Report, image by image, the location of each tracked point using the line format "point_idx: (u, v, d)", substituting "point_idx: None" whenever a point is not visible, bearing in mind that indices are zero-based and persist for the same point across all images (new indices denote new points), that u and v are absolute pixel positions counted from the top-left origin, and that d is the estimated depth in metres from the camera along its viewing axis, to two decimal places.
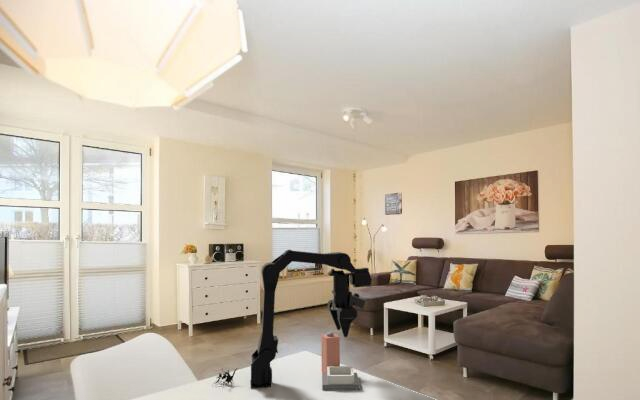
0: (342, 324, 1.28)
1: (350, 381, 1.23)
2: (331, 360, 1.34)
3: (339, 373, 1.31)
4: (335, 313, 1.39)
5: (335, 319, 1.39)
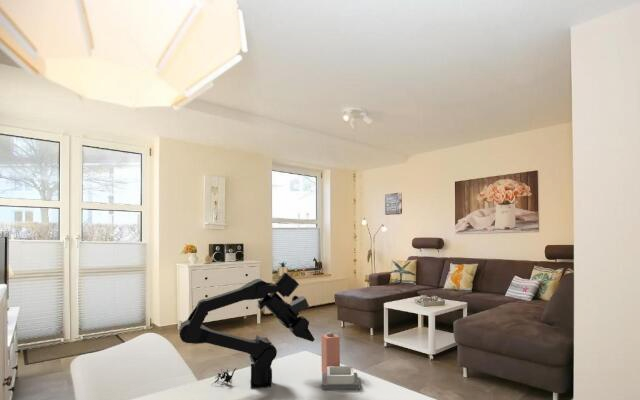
0: (303, 336, 1.27)
1: (350, 381, 1.23)
2: (331, 360, 1.34)
3: (339, 373, 1.31)
4: (291, 325, 1.38)
5: None
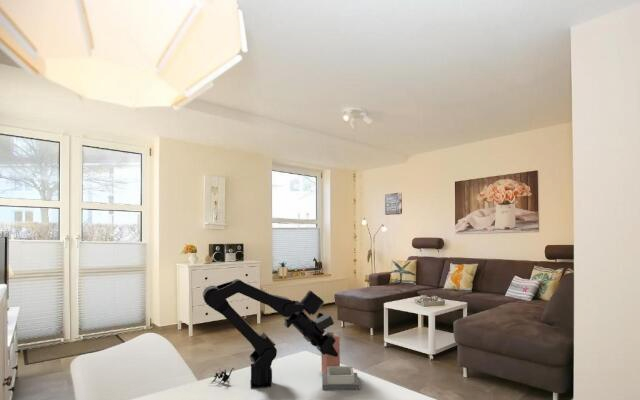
0: (327, 352, 1.32)
1: (350, 381, 1.23)
2: (331, 360, 1.34)
3: (339, 373, 1.31)
4: None
5: None
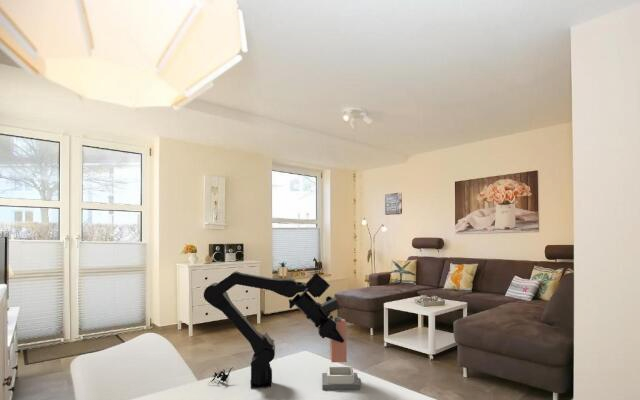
0: (331, 336, 1.26)
1: (350, 381, 1.23)
2: (337, 346, 1.28)
3: (339, 373, 1.31)
4: None
5: None
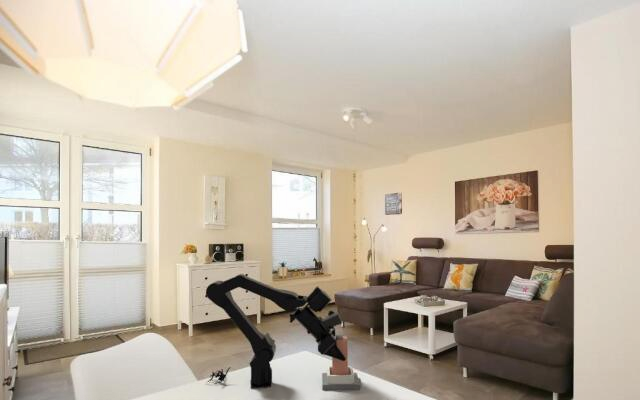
0: (331, 354, 1.22)
1: (350, 381, 1.23)
2: (338, 365, 1.25)
3: None
4: None
5: None
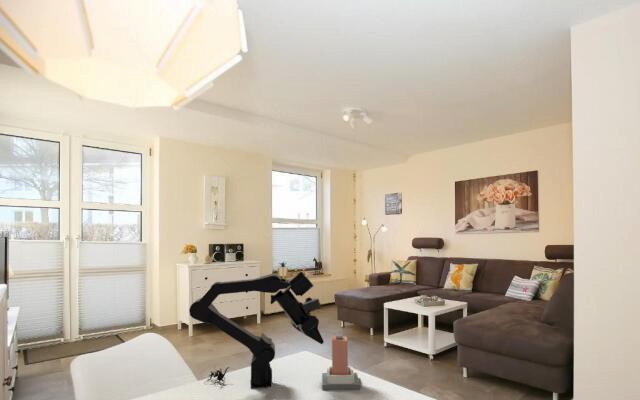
0: (311, 336, 1.24)
1: (350, 381, 1.23)
2: (338, 365, 1.25)
3: None
4: None
5: None
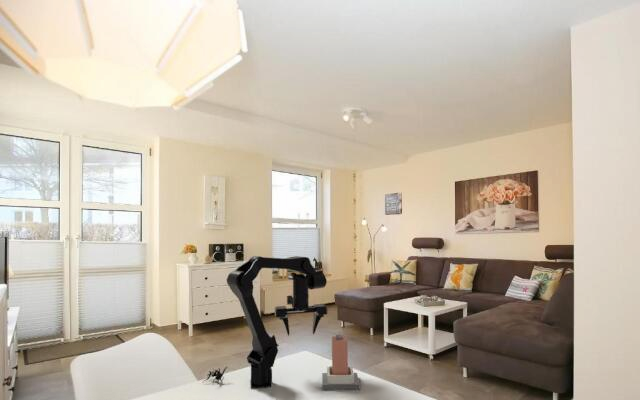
0: None
1: (350, 381, 1.23)
2: (338, 365, 1.25)
3: None
4: None
5: (288, 325, 1.37)
